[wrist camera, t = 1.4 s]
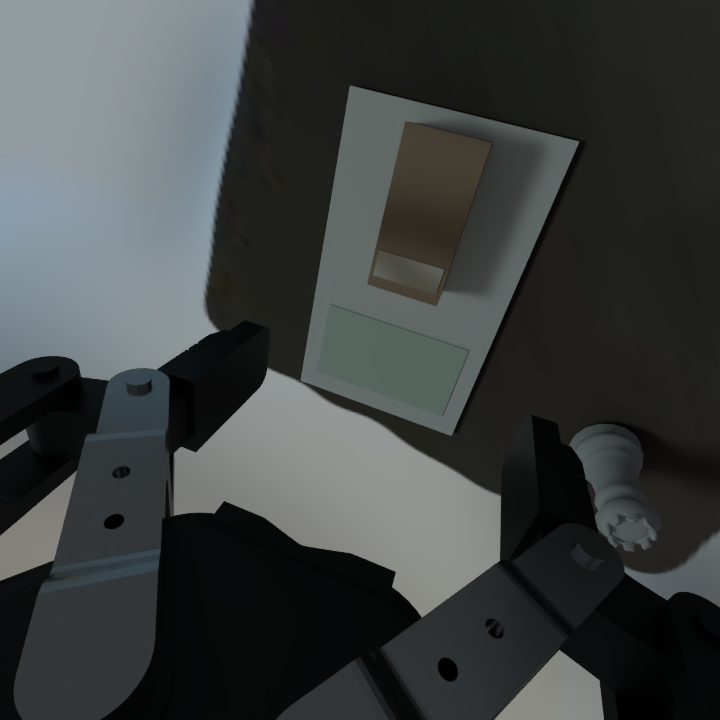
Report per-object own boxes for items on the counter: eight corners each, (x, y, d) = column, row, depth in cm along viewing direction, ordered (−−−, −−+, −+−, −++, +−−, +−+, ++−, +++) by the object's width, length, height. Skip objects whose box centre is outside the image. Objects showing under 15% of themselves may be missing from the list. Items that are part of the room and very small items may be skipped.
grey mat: (352, 86, 24) (349, 85, 24) (578, 141, 22) (579, 141, 22) (302, 378, 35) (300, 381, 35) (451, 432, 33) (451, 436, 33)
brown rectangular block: (415, 123, 24) (405, 121, 21) (493, 142, 23) (491, 142, 21) (379, 271, 28) (366, 284, 26) (442, 291, 28) (436, 306, 25)
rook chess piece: (628, 475, 30) (663, 572, 24) (562, 463, 31) (577, 551, 25) (648, 425, 28) (693, 516, 21) (576, 414, 29) (597, 496, 23)
